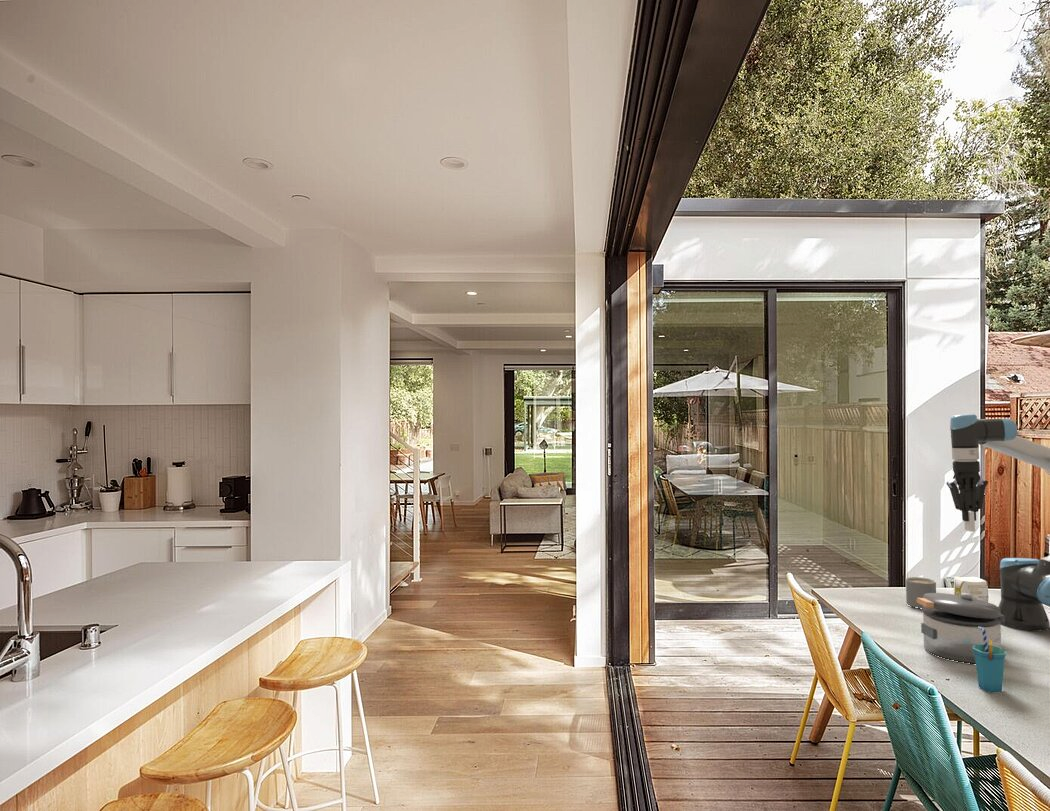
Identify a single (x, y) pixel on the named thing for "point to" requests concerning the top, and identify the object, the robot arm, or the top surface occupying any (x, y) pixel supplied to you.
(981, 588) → the juice carton
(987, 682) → the cup
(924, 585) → the coffee mug
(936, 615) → the cooker
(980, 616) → the cooker lid
